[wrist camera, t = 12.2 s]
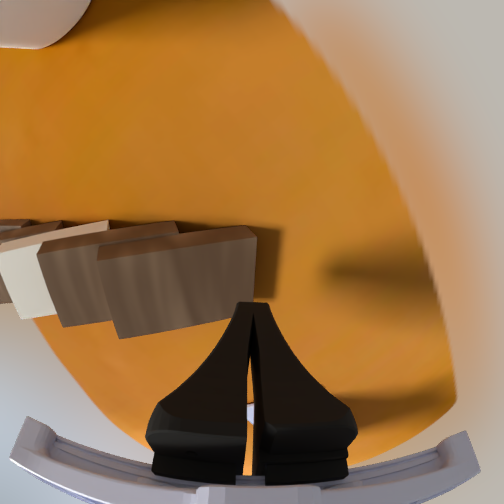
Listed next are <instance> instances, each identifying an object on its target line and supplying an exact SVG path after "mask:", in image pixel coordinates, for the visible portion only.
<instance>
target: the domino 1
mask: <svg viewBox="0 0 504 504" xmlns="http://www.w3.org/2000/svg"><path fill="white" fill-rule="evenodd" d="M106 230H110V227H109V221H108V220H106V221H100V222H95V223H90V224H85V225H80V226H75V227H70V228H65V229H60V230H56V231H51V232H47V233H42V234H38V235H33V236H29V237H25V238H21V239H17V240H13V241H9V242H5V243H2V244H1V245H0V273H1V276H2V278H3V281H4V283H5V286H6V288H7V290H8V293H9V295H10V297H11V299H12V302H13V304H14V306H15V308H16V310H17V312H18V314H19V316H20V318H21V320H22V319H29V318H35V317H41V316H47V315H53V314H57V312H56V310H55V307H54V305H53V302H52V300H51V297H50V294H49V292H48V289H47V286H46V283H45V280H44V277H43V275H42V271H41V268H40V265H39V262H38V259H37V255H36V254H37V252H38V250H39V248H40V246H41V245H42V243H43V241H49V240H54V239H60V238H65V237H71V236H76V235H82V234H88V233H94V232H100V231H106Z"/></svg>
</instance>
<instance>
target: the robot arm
mask: <svg viewBox="0 0 504 504" xmlns="http://www.w3.org/2000/svg"><path fill="white" fill-rule="evenodd" d="M249 359H251V371H252V383H253V394H254V403H252V404H248V405H247V374H248V367H249ZM247 420H248V421H249V422H251V423H252V424H253V461H252V476H245V475H243V466H244V460H245V451H246V442H247ZM357 434H358V430H357V425H356V422H355V419H354V417H353V414H352V412H351V410H350V408H349V407H348V406H346V405H345V404H343V403H342V402H341V401H339V400H338V399H337V398H335V397H334V396H333V395H332V394H330V393H329V392H328V391H327V390H326V389H325V388H324V387H323V386H322V385H321V384H320V383H319V382H318V381H317V380H316V379H315V378H314V377H313V376H312V375H311V374H310V373H309V372H308V371H307V370H306V369H305V367H304V366H303V365H302V364H301V363H300V361H299V360H298V359H297V357H296V356H295V355H294V353H293V352H292V350H291V349H290V347H289V346H288V344H287V342H286V341H285V339H284V337H283V335H282V334H281V332H280V330H279V328H278V326H277V324H276V322H275V320H274V317H273V315H272V312H271V310H270V306H269V304H268V303H260V302H238V303H237V304H236V308H235V311H234V314H233V316H232V319H231V321H230V323H229V325H228V327H227V328H226V330H225V332H224V334H223V336H222V337H221V339H220V340H219V342H218V343H217V345H216V347H215V348H214V349H213V351H212V352H211V353H210V355H209V356H208V357H207V359H206V360H205V361H204V362H203V363H202V364H201V366H200V367H199V368H198V369H197V370H196V371H195V372H194V373H193V374H192V375H191V376H190V377H189V378H188V379H187V380H186V381H185V382H184V383H182V384H181V385H180V386H179V387H178V388H177V389H176V390H174V391H173V392H172V393H170V394H169V395H168V396H166V397H165V398H164V399H162V400H161V401H159V402H158V404H157V405H156V407H155V409H154V411H153V413H152V415H151V418H150V420H149V423H148V426H147V431H146V435H145V438H146V440H147V442H148V444H149V445H150V447H151V448H152V450H153V451H154V458H153V464H147V463H143V462H138V461H134V460H130V459H126V458H123V457H119V456H115V455H111V454H108V453H105V452H102V451H99V450H96V449H93V448H90V447H87V446H84V445H81V444H78V443H76V442H73V441H70V440H68V439H65V438H63V437H61V436H58V435H57V434H56V433H55V432H54V431H53V430H52V429H51V428H50V427H49V426H47V425H45V424H43V423H41V422H39V421H37V420H35V419H33V418H31V417H26V419H25V421H24V424H23V425H22V428H21V430H20V433H19V435H18V437H17V439H16V442H15V445H14V447H13V449H12V452H11V454H10V457H9V458H10V460H11V461H12V462H14V463H15V464H17V465H18V466H19V467H21V468H22V469H24V470H25V471H27V472H28V473H30V474H31V475H32V476H34V477H36V478H37V479H39V480H40V481H42V482H44V483H46V484H48V485H50V486H52V487H54V488H56V489H58V490H60V491H62V492H64V493H66V494H68V495H71V496H73V497H75V498H77V499H80V500H82V501H85V502H87V503H89V504H421V503H423V502H426V501H428V500H430V499H432V498H435V497H437V496H440V495H442V494H444V493H446V492H448V491H450V490H452V489H454V488H455V487H457V486H459V485H461V484H463V483H464V482H466V481H467V480H469V479H471V478H472V477H474V476H476V475H477V474H479V473H480V471H481V470H480V467H479V464H478V461H477V458H476V455H475V453H474V450H473V447H472V445H471V442H470V439H469V437H468V434H467V432H466V431H462V432H460V433H457V434H455V435H452V436H450V437H448V438H446V439H444V440H443V441H441V442H440V443H439V444H438V445H437V446H436V447H434V448H431V449H428V450H425V451H422V452H418V453H415V454H412V455H408V456H405V457H401V458H397V459H394V460H390V461H385V462H381V463H377V464H372V465H367V466H362V467H357V468H351V469H348V466H347V460H346V458H348V450H347V447H348V446H349V445H350V444H351V443H352V441H353V440H354V439H355V438H356V436H357Z"/></svg>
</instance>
